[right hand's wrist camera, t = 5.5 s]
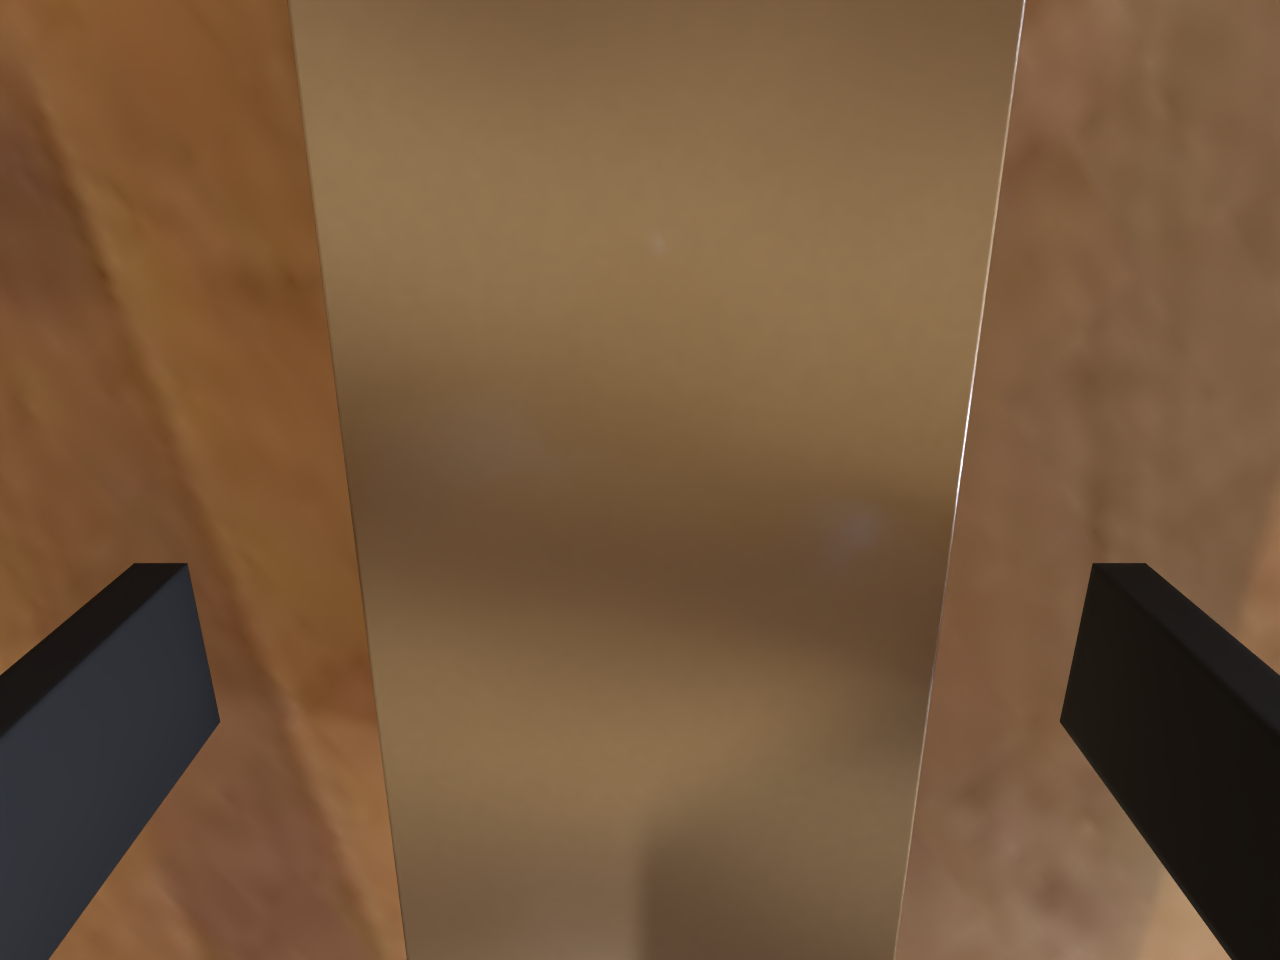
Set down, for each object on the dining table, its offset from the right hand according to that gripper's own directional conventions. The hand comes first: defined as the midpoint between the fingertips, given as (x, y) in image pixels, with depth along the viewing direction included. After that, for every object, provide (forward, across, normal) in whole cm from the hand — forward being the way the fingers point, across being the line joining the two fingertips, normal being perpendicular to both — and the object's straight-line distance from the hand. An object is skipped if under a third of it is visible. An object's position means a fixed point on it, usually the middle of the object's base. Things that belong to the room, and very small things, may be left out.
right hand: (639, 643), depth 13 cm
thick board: (+8, 0, -26) cm, 27 cm away
